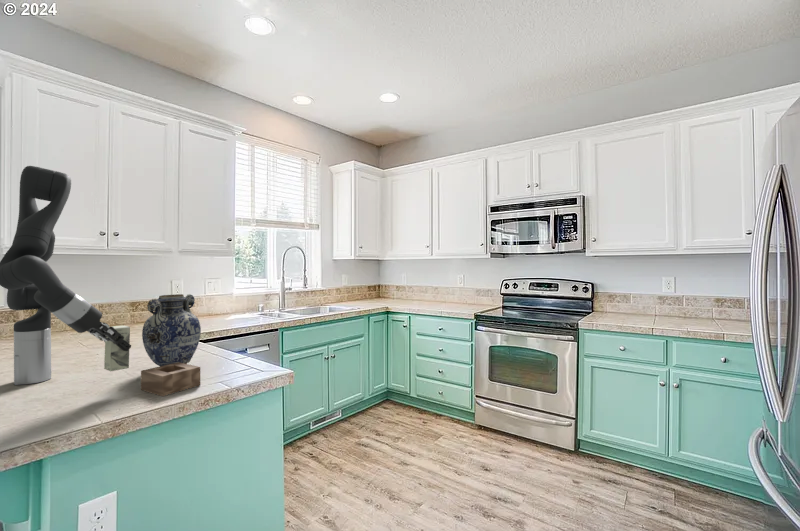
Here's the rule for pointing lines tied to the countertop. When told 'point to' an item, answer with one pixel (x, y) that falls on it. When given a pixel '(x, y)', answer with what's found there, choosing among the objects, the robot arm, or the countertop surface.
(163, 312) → the decorative vase
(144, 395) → the countertop surface
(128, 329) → the box
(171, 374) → the holder block
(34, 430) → the countertop surface
